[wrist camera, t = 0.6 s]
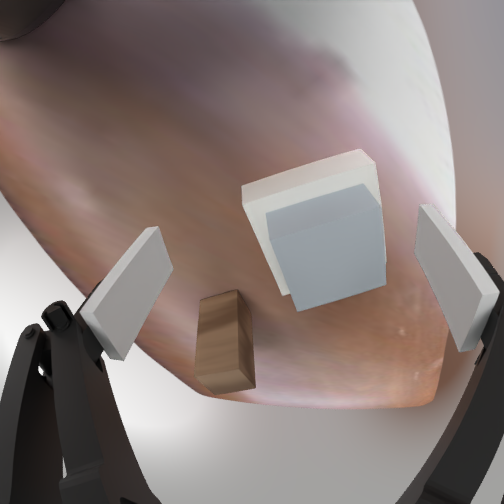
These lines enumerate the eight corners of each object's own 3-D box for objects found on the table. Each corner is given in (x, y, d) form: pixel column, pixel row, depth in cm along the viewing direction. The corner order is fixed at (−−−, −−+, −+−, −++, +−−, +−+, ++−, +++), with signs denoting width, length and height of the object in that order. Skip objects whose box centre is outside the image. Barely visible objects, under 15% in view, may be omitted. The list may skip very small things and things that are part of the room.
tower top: (265, 213, 26) (269, 240, 23) (363, 183, 24) (380, 206, 21) (291, 282, 31) (297, 311, 28) (372, 258, 30) (386, 284, 27)
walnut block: (200, 300, 37) (194, 376, 29) (236, 289, 37) (238, 368, 28) (216, 322, 40) (214, 395, 32) (251, 313, 40) (255, 388, 31)
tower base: (241, 184, 29) (242, 204, 25) (358, 147, 26) (375, 162, 23) (278, 271, 36) (282, 295, 33) (374, 240, 34) (386, 262, 30)
